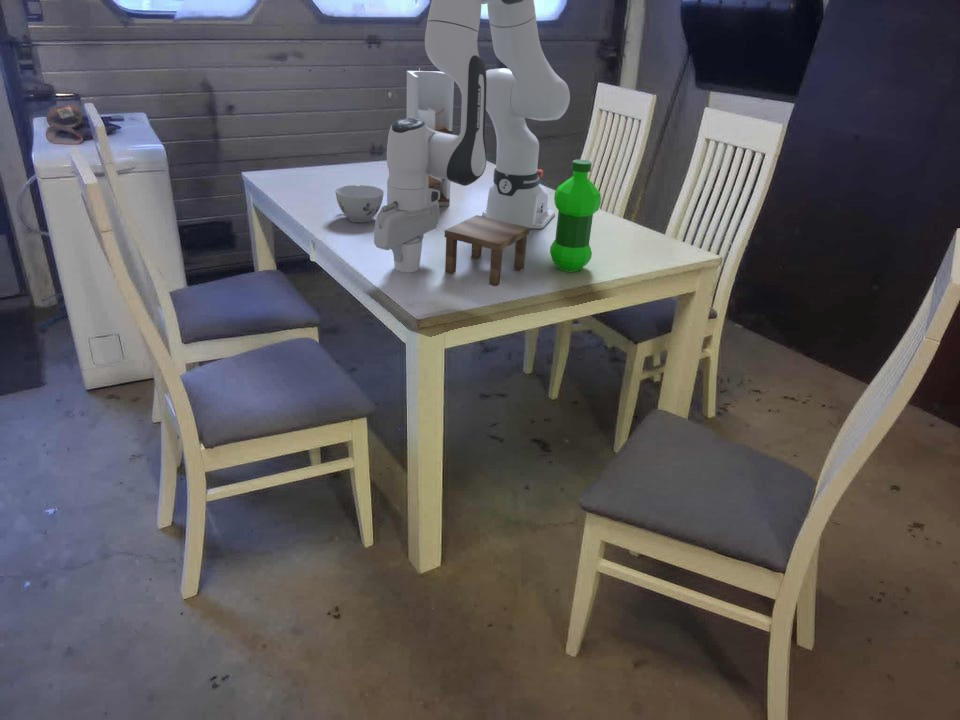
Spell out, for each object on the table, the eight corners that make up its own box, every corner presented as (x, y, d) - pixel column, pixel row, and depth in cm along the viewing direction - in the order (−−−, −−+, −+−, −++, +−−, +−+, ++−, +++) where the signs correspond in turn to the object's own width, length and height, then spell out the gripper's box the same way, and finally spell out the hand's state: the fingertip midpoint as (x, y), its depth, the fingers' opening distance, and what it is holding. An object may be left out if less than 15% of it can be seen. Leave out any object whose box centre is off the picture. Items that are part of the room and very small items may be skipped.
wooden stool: (474, 255, 173) (476, 215, 168) (525, 268, 167) (529, 227, 162) (443, 272, 162) (444, 230, 157) (496, 287, 156) (499, 244, 151)
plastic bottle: (539, 268, 167) (550, 161, 155) (560, 256, 175) (572, 154, 163) (577, 279, 163) (592, 170, 150) (597, 266, 170) (612, 161, 158)
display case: (406, 195, 213) (406, 70, 196) (440, 194, 216) (444, 71, 199) (413, 206, 204) (415, 76, 187) (449, 205, 206) (454, 77, 189)
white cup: (428, 268, 163) (428, 239, 160) (406, 276, 159) (406, 246, 155) (407, 260, 167) (407, 231, 164) (385, 267, 162) (385, 238, 159)
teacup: (392, 222, 190) (392, 193, 186) (350, 229, 183) (349, 199, 179) (365, 207, 200) (364, 179, 197) (324, 213, 194) (323, 184, 190)
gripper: (390, 211, 146) (390, 274, 152) (444, 190, 161) (442, 248, 168) (366, 205, 148) (367, 267, 155) (421, 185, 164) (420, 242, 171)
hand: (407, 257), depth 162 cm, fingers closed on white cup, 5 cm apart
